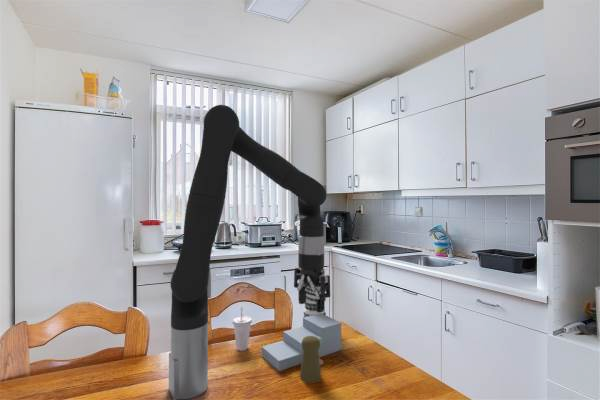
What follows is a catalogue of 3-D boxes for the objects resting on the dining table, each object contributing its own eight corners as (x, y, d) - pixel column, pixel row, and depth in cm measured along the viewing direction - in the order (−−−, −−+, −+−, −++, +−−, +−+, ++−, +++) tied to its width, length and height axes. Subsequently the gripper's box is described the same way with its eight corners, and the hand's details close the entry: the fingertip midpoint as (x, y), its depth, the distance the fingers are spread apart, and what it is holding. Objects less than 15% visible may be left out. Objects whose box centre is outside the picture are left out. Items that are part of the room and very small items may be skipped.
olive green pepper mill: (321, 371, 92) (321, 333, 92) (321, 383, 85) (321, 342, 86) (301, 370, 92) (301, 332, 92) (299, 382, 86) (299, 341, 86)
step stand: (279, 371, 91) (279, 340, 91) (261, 355, 101) (261, 327, 101) (341, 350, 105) (341, 323, 105) (321, 338, 114) (321, 313, 114)
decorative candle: (330, 334, 117) (330, 267, 118) (306, 336, 115) (306, 268, 115) (322, 325, 126) (322, 262, 126) (300, 327, 124) (300, 263, 124)
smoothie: (228, 351, 104) (229, 308, 104) (238, 342, 110) (238, 302, 110) (246, 353, 102) (246, 310, 102) (254, 345, 108) (255, 304, 108)
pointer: (316, 366, 94) (316, 363, 94) (308, 360, 98) (308, 357, 98) (323, 364, 96) (323, 360, 96) (314, 358, 99) (314, 355, 99)
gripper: (287, 249, 95) (286, 303, 95) (316, 256, 83) (315, 317, 83) (307, 247, 99) (306, 299, 99) (337, 253, 88) (337, 312, 87)
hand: (310, 307), depth 91 cm, fingers open, 8 cm apart
